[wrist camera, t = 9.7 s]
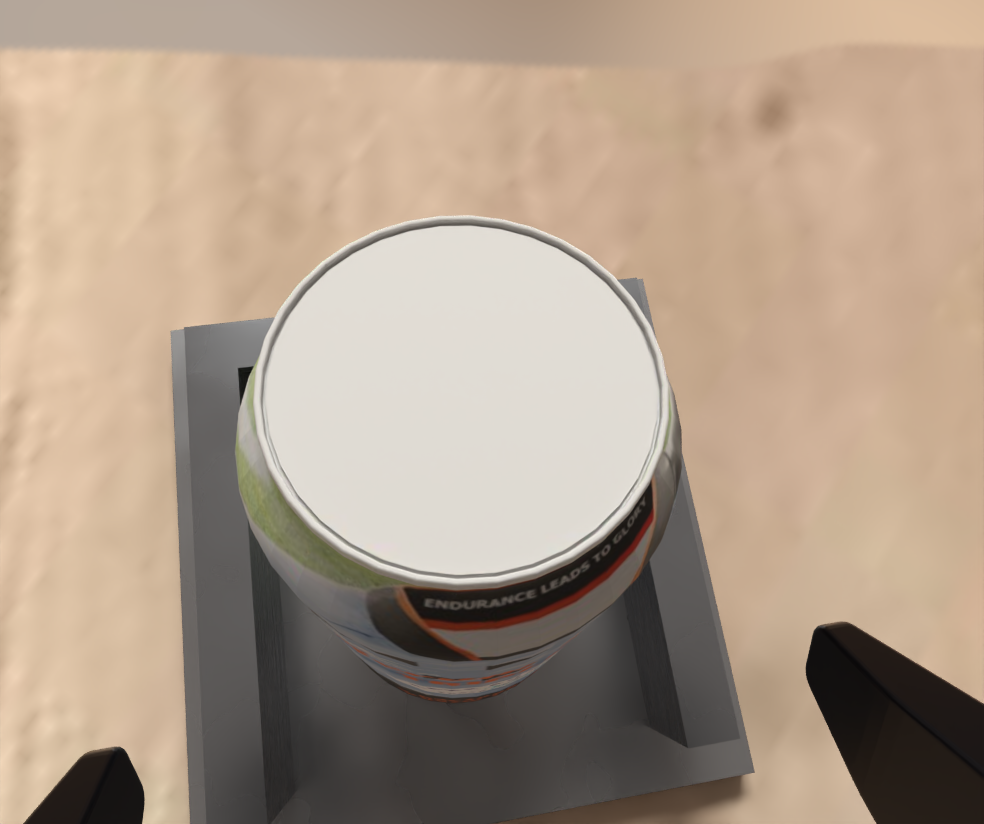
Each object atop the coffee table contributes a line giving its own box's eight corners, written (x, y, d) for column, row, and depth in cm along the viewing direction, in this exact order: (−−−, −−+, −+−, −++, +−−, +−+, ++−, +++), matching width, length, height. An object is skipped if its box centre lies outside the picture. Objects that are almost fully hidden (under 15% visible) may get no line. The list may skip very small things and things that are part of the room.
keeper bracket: (742, 766, 19) (813, 802, 16) (203, 869, 18) (141, 937, 14) (633, 281, 23) (671, 218, 19) (179, 331, 21) (126, 273, 18)
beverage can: (374, 730, 18) (265, 925, 6) (304, 455, 20) (120, 226, 8) (606, 648, 19) (871, 693, 7) (519, 394, 21) (623, 112, 9)
